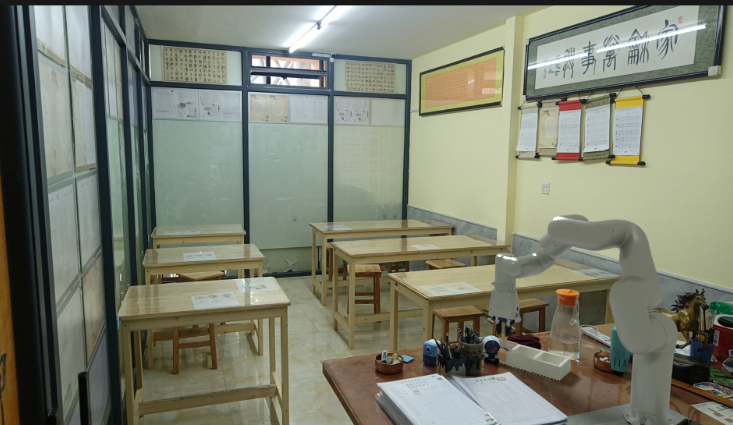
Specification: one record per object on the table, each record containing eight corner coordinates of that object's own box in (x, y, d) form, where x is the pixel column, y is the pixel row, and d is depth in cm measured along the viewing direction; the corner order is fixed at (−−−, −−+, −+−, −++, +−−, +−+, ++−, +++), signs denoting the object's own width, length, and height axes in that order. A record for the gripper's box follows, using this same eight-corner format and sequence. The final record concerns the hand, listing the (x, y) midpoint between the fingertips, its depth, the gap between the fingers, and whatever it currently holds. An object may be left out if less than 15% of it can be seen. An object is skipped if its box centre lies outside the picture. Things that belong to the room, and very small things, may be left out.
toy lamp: (500, 355, 176) (502, 311, 175) (493, 350, 181) (495, 308, 179) (511, 354, 178) (514, 310, 176) (504, 349, 182) (507, 307, 180)
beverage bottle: (610, 374, 166) (613, 319, 164) (606, 367, 172) (609, 313, 170) (631, 377, 164) (634, 320, 162) (626, 369, 170) (630, 314, 168)
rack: (559, 381, 160) (559, 366, 160) (483, 359, 179) (483, 345, 178) (569, 371, 168) (570, 357, 168) (496, 350, 187) (496, 337, 186)
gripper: (480, 285, 179) (479, 332, 181) (521, 292, 169) (520, 342, 170) (489, 281, 185) (488, 327, 187) (530, 288, 174) (528, 337, 176)
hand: (503, 334), depth 179 cm, fingers closed on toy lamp, 2 cm apart
